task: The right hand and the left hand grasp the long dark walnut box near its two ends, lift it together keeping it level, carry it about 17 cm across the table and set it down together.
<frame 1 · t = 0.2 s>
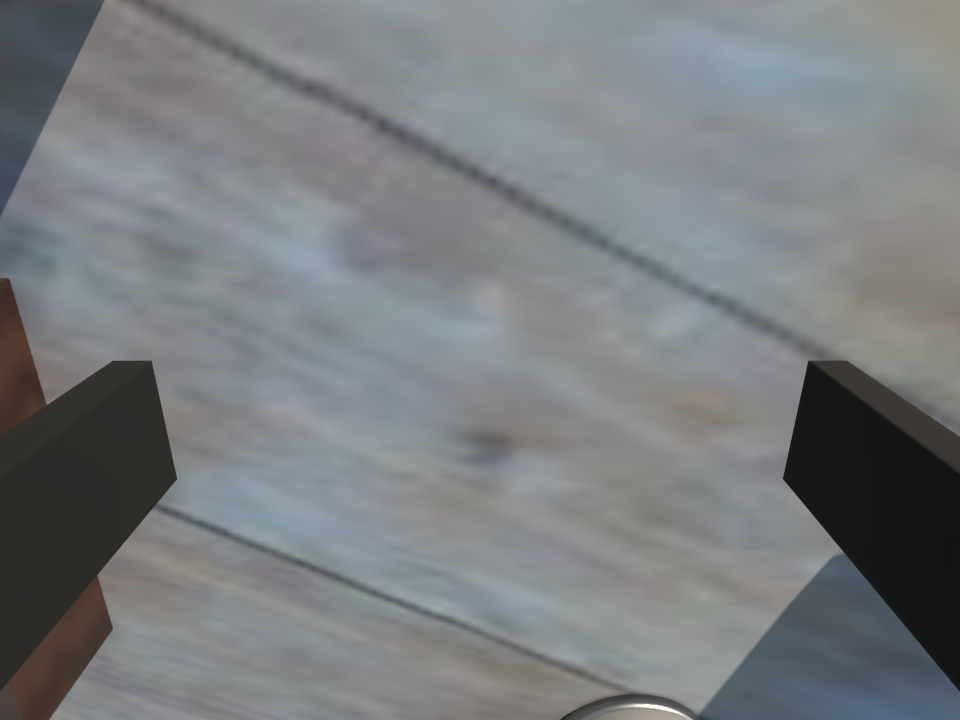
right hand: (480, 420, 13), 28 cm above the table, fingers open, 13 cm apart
walnut box: (31, 475, 45), on the table
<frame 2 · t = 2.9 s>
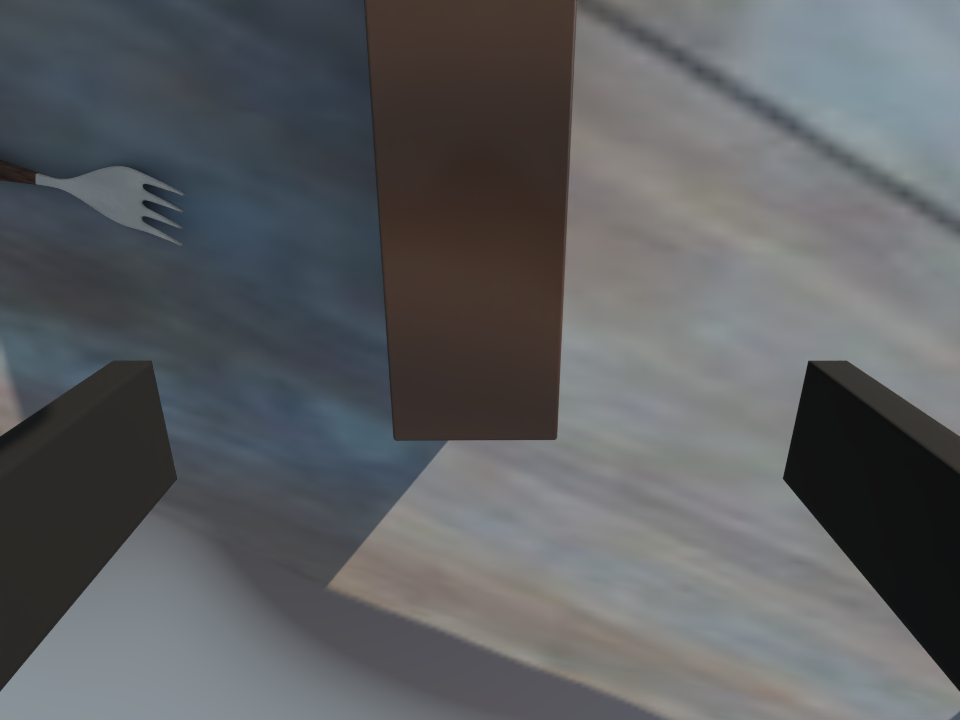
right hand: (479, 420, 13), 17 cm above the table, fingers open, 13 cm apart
fork: (21, 171, 27), on the table
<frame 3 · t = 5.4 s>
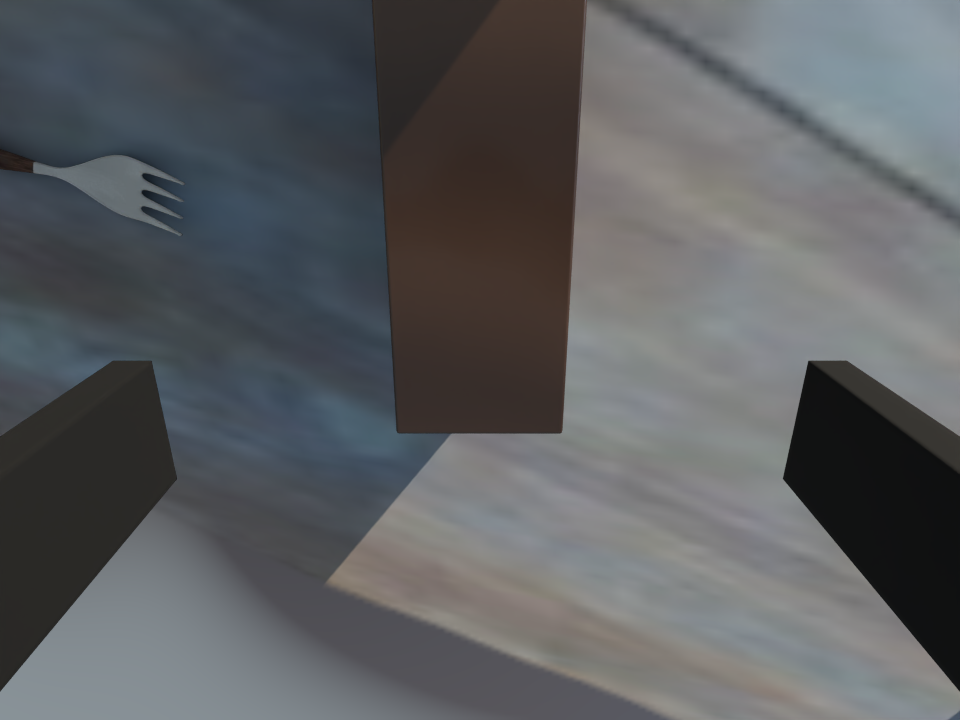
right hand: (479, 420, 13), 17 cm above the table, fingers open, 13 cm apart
fork: (19, 159, 27), on the table
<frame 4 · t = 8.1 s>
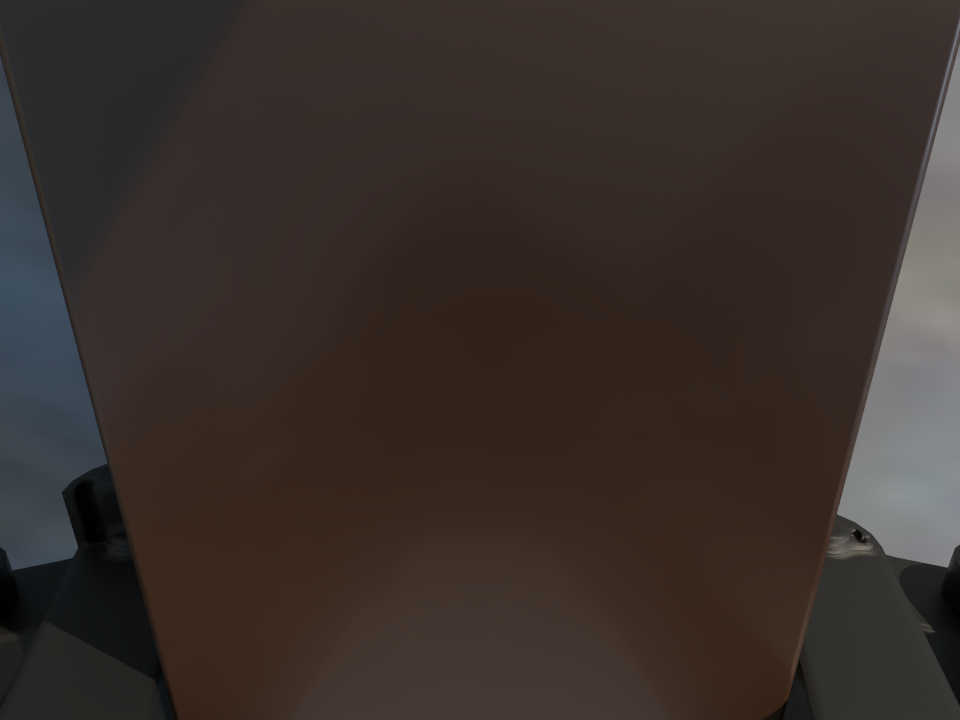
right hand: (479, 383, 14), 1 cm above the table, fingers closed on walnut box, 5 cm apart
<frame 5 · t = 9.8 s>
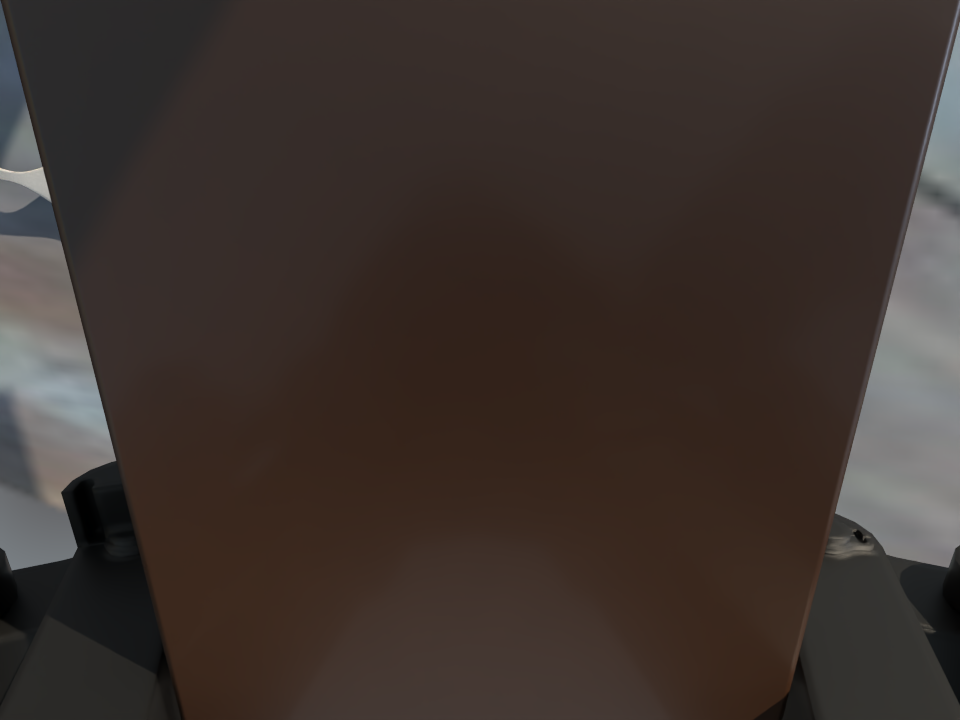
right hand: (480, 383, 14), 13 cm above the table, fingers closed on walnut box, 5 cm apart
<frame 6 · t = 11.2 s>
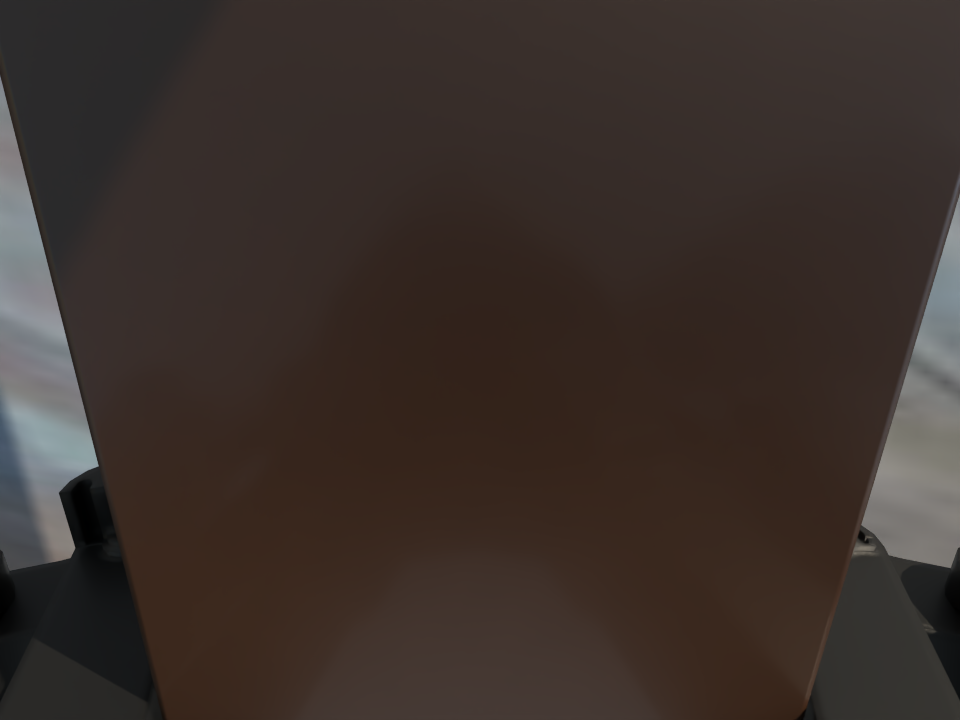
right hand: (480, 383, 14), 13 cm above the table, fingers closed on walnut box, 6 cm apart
when the right hand's fingers open (2 cm above the table, at t = 14.2 s): walnut box moves 1 cm, on the table.
when the left hand's fingers open (6 cm above the table, at t = 14.3 s): walnut box stays where it is, on the table.
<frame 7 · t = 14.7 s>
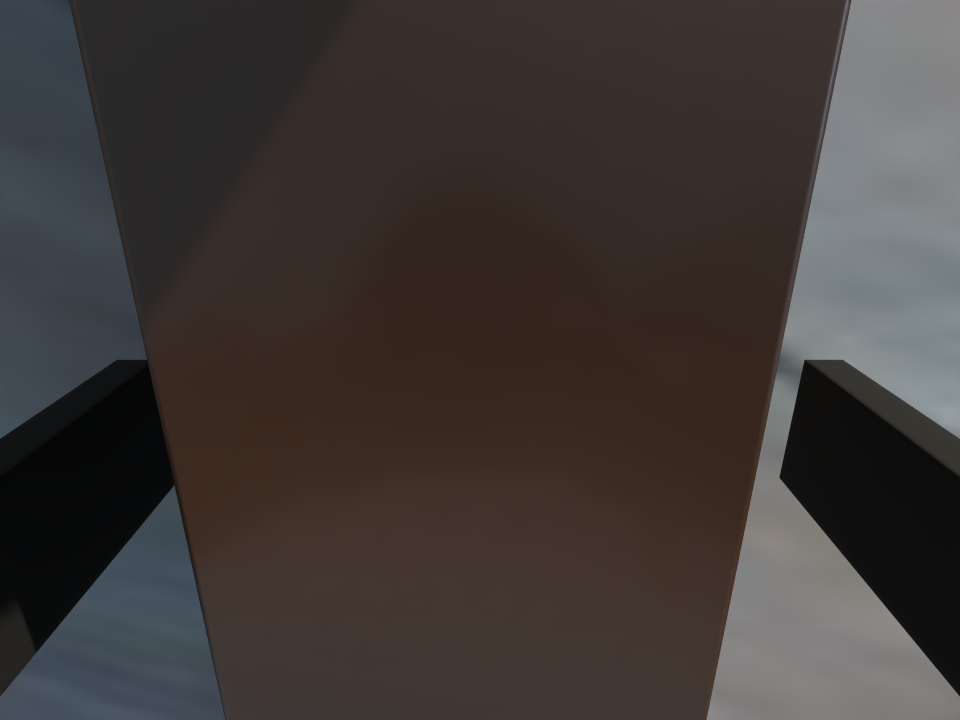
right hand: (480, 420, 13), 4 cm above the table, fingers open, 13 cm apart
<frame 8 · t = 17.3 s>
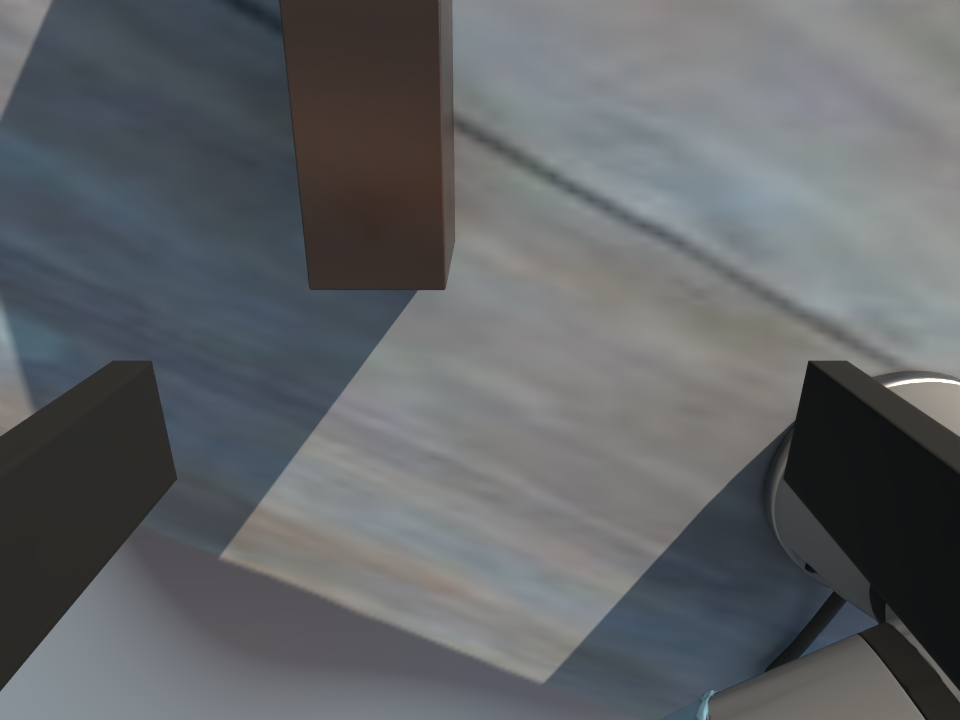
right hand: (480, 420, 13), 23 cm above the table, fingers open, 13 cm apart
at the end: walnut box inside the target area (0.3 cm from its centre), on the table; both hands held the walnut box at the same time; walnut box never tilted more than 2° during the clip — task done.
